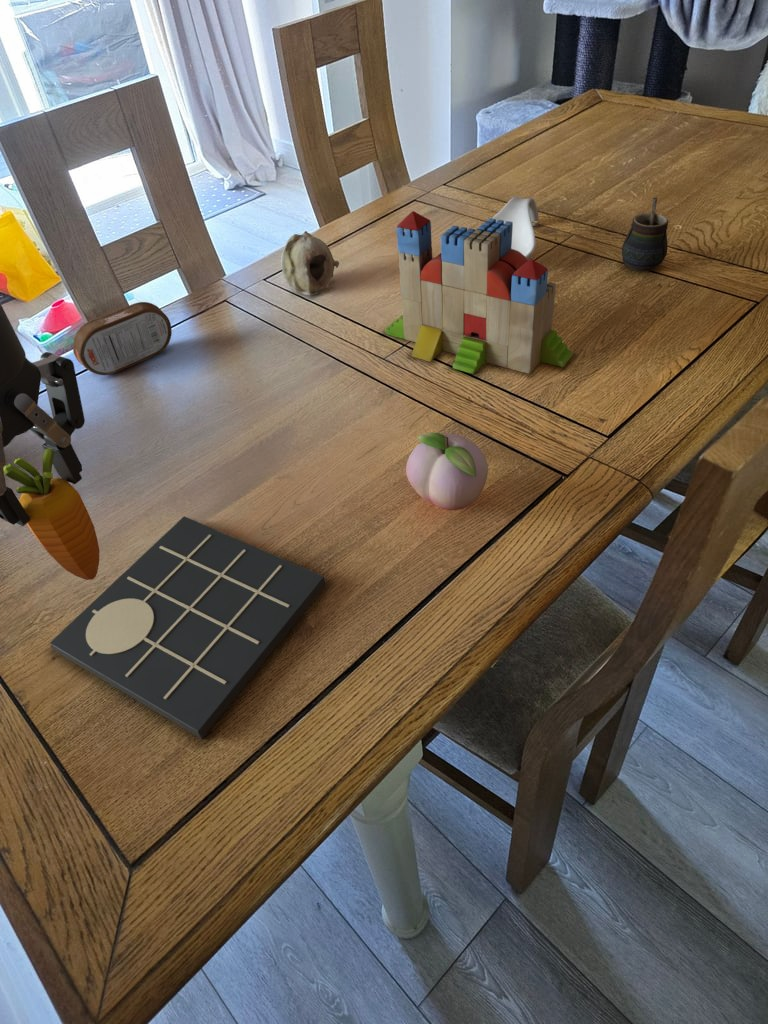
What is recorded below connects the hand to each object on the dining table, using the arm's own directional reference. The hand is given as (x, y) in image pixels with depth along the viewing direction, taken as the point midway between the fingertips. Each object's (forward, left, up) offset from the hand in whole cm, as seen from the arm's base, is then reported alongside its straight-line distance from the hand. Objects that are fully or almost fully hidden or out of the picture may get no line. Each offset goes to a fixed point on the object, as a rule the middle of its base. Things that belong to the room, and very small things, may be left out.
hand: (45, 498), depth 58 cm
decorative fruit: (+21, +32, -20) cm, 43 cm away
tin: (-37, +38, -20) cm, 57 cm away
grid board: (+5, +5, -19) cm, 21 cm away
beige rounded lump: (-25, +70, -20) cm, 77 cm away
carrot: (0, 0, -11) cm, 11 cm away
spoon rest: (+1, +95, -20) cm, 97 cm away
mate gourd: (+24, +98, -20) cm, 103 cm away
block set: (+9, +64, -20) cm, 68 cm away
